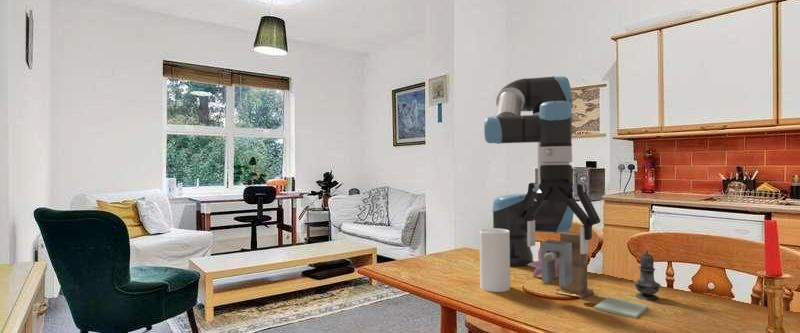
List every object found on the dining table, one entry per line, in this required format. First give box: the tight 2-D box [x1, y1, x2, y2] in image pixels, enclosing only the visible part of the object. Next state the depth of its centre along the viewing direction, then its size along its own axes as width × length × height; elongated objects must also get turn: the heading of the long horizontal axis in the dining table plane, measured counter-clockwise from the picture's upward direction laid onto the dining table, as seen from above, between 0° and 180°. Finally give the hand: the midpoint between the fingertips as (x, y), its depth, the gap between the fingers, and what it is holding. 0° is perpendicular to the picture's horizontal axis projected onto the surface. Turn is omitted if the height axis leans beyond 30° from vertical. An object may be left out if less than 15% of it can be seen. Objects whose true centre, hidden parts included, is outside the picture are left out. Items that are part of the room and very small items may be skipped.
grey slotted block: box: [540, 239, 572, 287], centre depth 106 cm, size 4×6×10 cm, turn 45°
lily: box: [526, 248, 559, 283], centre depth 125 cm, size 12×12×10 cm
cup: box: [479, 227, 511, 293], centre depth 119 cm, size 8×8×16 cm
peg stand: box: [544, 230, 594, 300], centre depth 109 cm, size 19×7×16 cm, turn 135°
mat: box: [593, 296, 649, 319], centre depth 101 cm, size 9×9×1 cm
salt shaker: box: [633, 250, 662, 302], centre depth 109 cm, size 6×6×12 cm
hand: (556, 249), depth 106 cm, fingers open, 13 cm apart
